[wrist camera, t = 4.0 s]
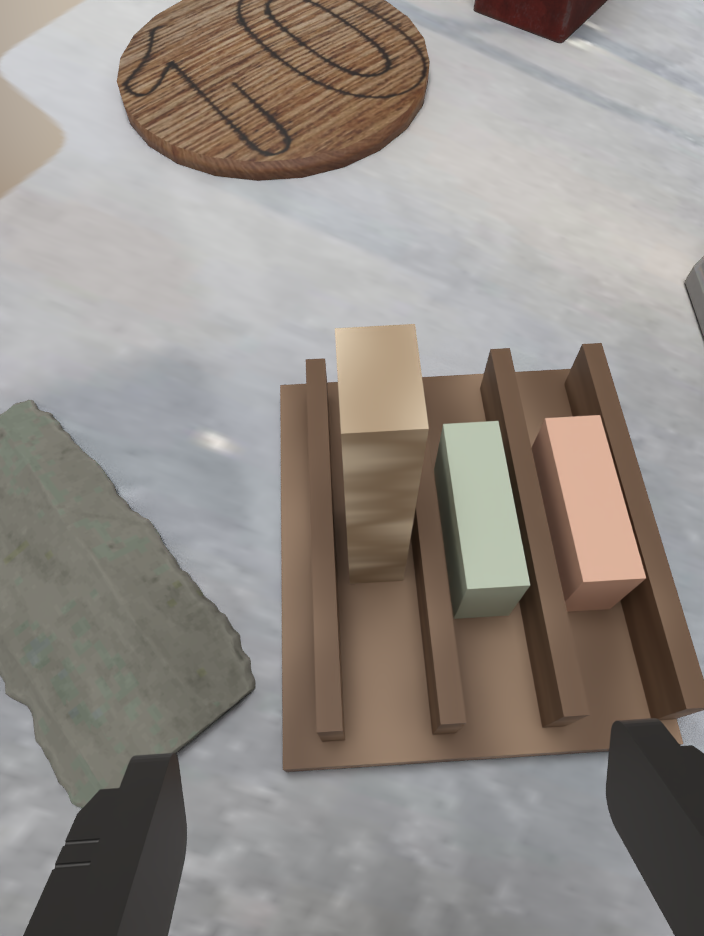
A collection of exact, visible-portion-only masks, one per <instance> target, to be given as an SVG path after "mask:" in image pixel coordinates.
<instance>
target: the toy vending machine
mask: <svg viewBox="0 0 704 936" xmlns="http://www.w3.org/2000/svg"><path fill="white" fill-rule="evenodd" d="M606 1H607V0H475V5H474V11H475V12H478V13H481V14H483V15H486V16H489V17H491V18H494V19H496V20H499V21H502V22H504V23H507V24H510V25H512V26H515V27H518V28H520V29H523V30H526V31H528V32H531V33H534V34H536V35H539V36H541V37H544V38H547V39H549V40H552V41H555V42H557V43H562V42H564V41H565V40H566V39H567V38H568V37H569V36H570V35H571V34H572V33H573V32H574V31H575V30H577V29H578V28H579V27H580V26H581V25H582V24H583V23H584V22H585V21H586V20H587V19H588V18H589V17H590V16H591V15H592V14H593V13H595V12H596V11H597V10H598V9H599V8H600V7H601V6H602V5H603V4H604V3H605V2H606Z"/></svg>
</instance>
